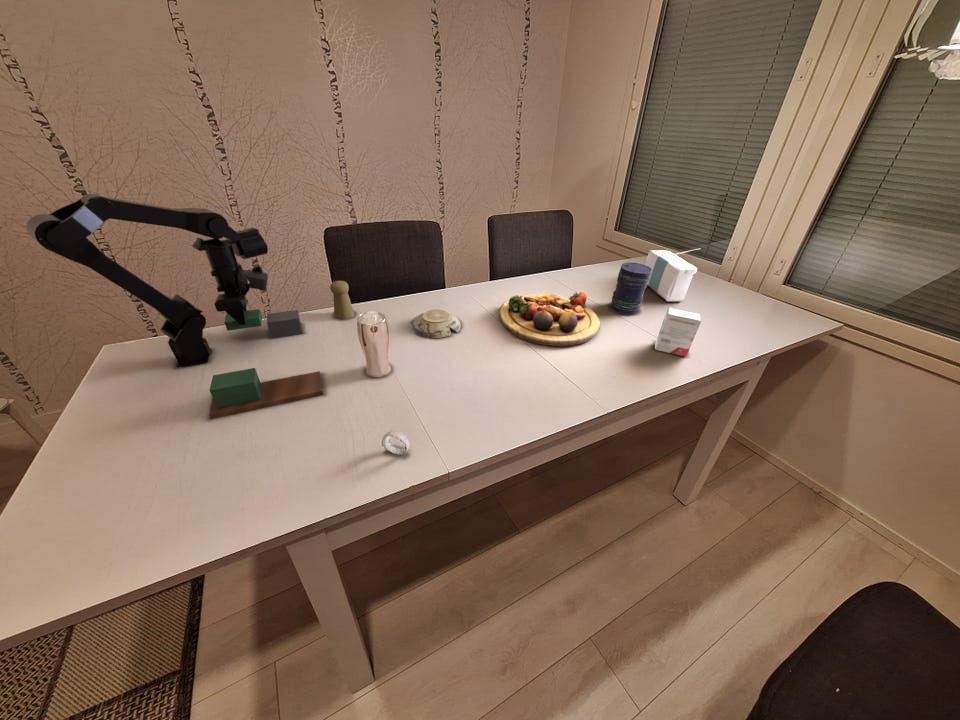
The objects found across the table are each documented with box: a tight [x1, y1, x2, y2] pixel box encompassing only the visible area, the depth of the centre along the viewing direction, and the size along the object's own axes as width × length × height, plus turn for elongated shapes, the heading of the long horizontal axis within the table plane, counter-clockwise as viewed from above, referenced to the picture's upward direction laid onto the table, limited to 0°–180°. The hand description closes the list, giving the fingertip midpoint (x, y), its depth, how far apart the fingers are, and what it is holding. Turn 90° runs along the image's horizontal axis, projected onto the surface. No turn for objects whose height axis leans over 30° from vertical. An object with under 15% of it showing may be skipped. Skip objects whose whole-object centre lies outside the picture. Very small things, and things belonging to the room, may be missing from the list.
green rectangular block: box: [224, 308, 263, 331], centre depth 100 cm, size 8×6×2 cm
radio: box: [644, 247, 702, 303], centre depth 138 cm, size 21×8×20 cm, turn 6°
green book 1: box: [208, 367, 259, 400], centre depth 79 cm, size 8×6×2 cm
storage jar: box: [609, 262, 652, 316], centre depth 126 cm, size 10×10×15 cm
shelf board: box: [208, 370, 324, 419], centre depth 83 cm, size 22×8×1 cm, turn 114°
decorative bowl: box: [412, 309, 461, 339], centre depth 112 cm, size 15×4×15 cm
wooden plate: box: [498, 291, 601, 347], centre depth 117 cm, size 32×32×8 cm
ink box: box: [654, 307, 702, 357], centre depth 105 cm, size 9×5×12 cm, turn 65°
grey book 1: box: [266, 309, 301, 332], centre depth 104 cm, size 8×6×2 cm
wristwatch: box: [381, 430, 411, 456], centre depth 70 cm, size 3×5×5 cm, turn 73°
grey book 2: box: [268, 319, 304, 339], centre depth 106 cm, size 8×6×2 cm
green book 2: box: [214, 376, 262, 409], centre depth 80 cm, size 8×6×2 cm
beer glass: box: [356, 310, 392, 378], centre depth 89 cm, size 7×7×15 cm
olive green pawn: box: [329, 280, 355, 321], centre depth 113 cm, size 6×6×11 cm
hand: (243, 319), depth 100 cm, fingers closed on green rectangular block, 5 cm apart
